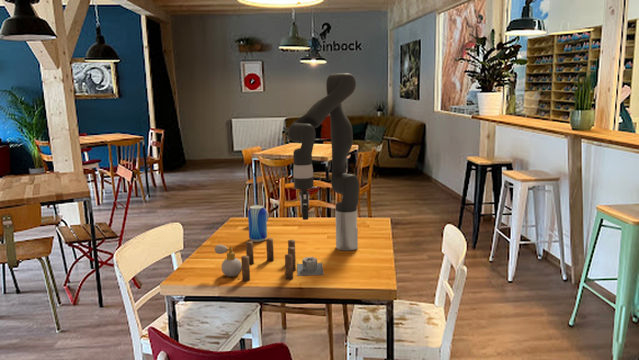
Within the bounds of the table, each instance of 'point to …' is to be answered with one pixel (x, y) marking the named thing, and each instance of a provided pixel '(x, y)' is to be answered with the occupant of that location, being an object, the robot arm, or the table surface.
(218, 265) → the table surface
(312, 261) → the nut
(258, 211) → the beer can
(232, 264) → the perfume bottle
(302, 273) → the felt mat
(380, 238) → the table surface
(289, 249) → the post field
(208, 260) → the table surface
